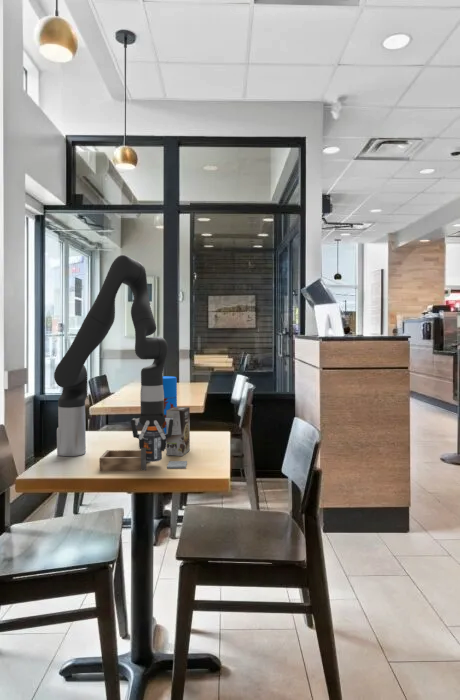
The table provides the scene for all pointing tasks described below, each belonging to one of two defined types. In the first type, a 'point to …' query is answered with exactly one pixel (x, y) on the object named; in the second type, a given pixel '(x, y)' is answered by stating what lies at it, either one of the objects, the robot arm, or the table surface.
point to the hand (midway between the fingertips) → (152, 450)
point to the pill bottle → (152, 444)
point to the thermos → (169, 395)
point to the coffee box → (178, 431)
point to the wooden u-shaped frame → (123, 460)
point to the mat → (177, 464)
